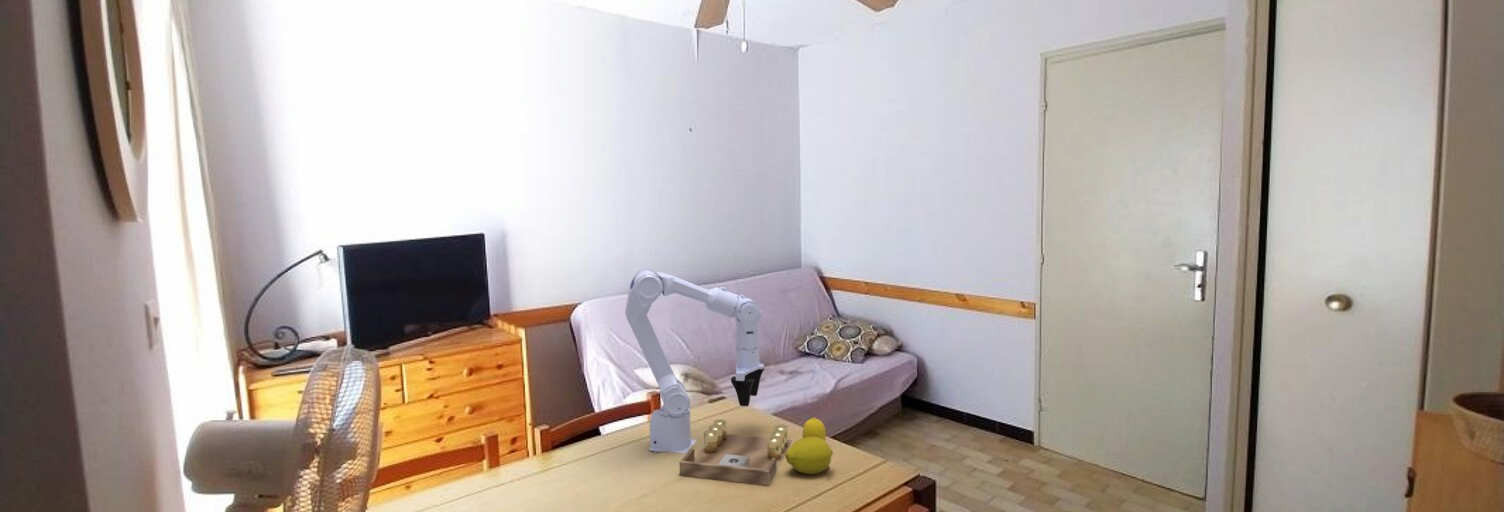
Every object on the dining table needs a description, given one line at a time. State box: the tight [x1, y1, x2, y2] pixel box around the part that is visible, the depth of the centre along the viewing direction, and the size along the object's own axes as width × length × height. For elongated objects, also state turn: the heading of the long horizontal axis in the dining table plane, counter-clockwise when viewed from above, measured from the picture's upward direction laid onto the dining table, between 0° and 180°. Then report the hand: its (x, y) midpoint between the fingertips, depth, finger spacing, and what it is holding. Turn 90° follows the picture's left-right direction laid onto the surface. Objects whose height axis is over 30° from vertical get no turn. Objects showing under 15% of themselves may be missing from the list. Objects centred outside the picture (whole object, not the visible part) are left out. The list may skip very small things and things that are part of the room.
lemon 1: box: [802, 417, 827, 442], centre depth 149 cm, size 6×6×8 cm
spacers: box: [703, 418, 789, 460], centre depth 149 cm, size 19×10×4 cm, turn 75°
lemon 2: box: [784, 437, 833, 475], centre depth 137 cm, size 11×8×8 cm
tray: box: [678, 433, 793, 487], centre depth 145 cm, size 20×24×4 cm
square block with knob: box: [718, 454, 750, 468], centre depth 137 cm, size 6×6×2 cm
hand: (748, 400), depth 156 cm, fingers open, 7 cm apart
